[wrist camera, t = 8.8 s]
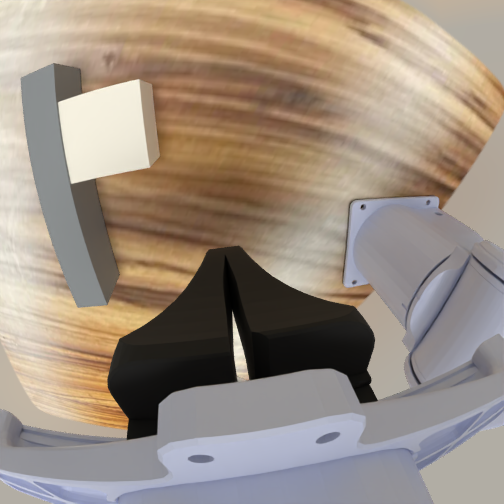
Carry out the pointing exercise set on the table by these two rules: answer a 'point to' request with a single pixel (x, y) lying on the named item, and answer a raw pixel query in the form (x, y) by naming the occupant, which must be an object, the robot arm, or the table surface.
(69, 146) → the cream block
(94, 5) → the table surface
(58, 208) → the gray bar
